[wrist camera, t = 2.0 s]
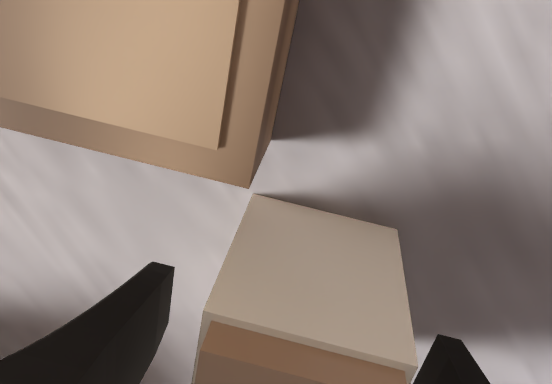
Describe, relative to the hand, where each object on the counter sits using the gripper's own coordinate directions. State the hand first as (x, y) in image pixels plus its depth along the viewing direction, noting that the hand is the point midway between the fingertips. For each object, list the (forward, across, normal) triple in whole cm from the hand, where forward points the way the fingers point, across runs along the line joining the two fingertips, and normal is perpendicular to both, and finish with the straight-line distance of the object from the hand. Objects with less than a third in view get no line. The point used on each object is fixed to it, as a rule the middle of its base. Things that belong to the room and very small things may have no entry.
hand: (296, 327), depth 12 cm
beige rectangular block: (+3, 0, 0) cm, 3 cm away
